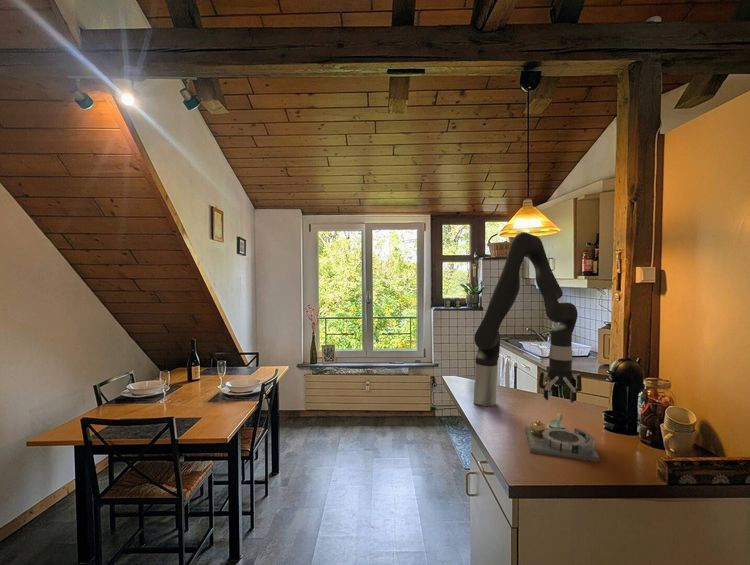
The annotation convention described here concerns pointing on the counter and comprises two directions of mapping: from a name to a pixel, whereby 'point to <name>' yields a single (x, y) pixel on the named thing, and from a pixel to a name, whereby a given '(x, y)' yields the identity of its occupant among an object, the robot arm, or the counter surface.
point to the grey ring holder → (561, 442)
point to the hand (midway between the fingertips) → (559, 400)
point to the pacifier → (556, 422)
